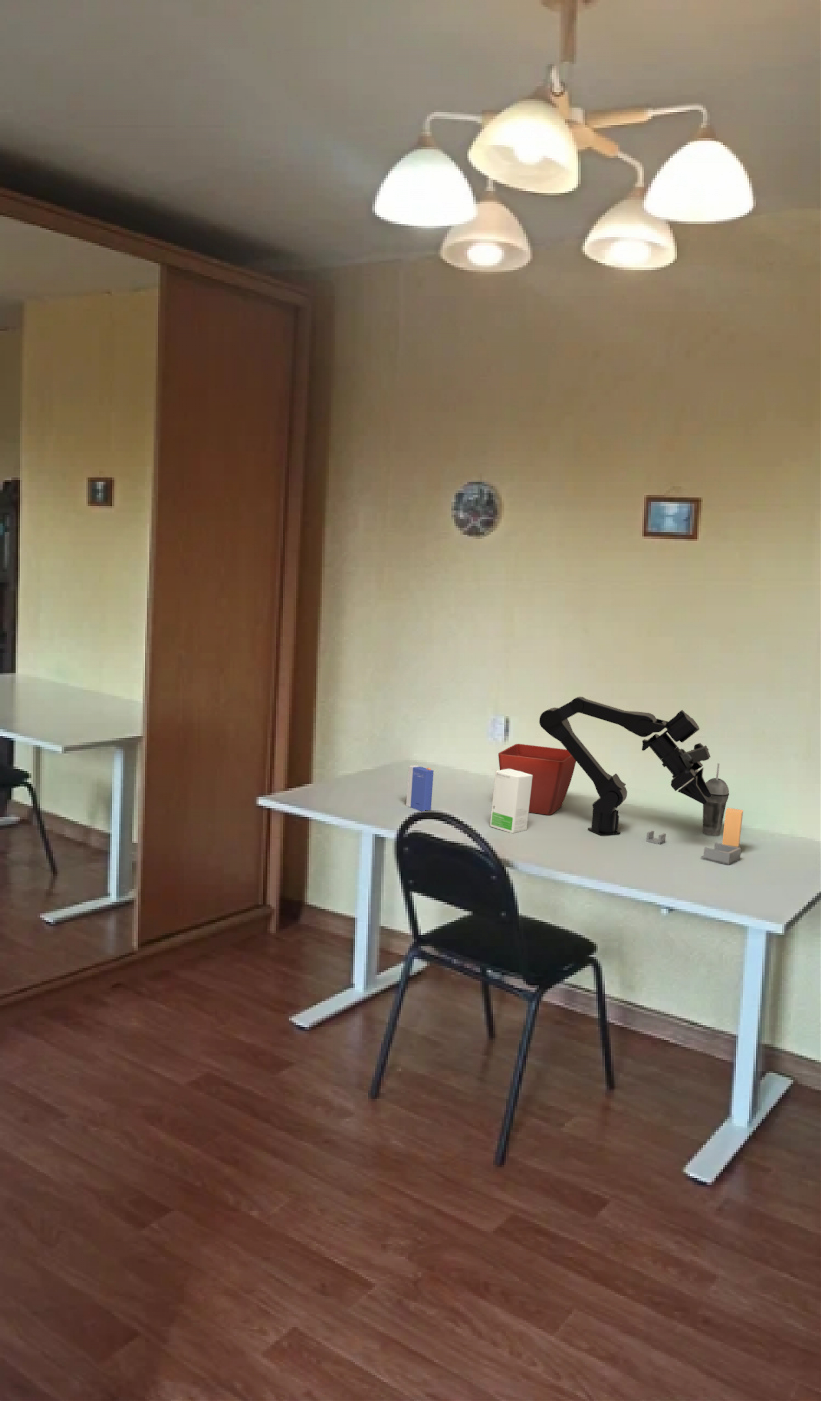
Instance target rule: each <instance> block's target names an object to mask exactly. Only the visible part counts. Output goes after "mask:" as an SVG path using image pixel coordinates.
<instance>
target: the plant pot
mask: <svg viewBox="0 0 821 1401" xmlns="http://www.w3.org/2000/svg"><path fill="white" fill-rule="evenodd" d="M497 756H498V764H499V766H498V767H499V770H504V769H513V770H517V771H521V772H524V773H527V774H531V775H533V777H532V785H531V794H530V803H529V812H528V813H531V814H532V813H533V814H540V815H548V816H550V815H552V814H554V813H555V812H557V811H558V810H559V809H560V808H562V806H563V803H564V801H565V799H566V796H567V794H568V790H569V788H570V784H571V781H572V778H573V775H574V771H575V767H576V764H577V761H576V760H575V759H574V758H573V757H572V755H571V754H570V753H569V752H568V750H567V749H566V748H565V749H564V748H557V747H550V746H549V747H548V746H541V745H540V746H539V745H532V744H524V743H516V744H513V745H512V746H509V747H507V748H506V749H504V750H502V751H500V752H498V755H497Z"/></svg>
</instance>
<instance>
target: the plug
mask: <svg viewBox="0 0 821 1401" xmlns="http://www.w3.org/2000/svg"><path fill="white" fill-rule="evenodd" d="M743 815H744V810H743V809H738V808H731V807H727V808H726V809H725V812H724V824H723V825H724V826H723V834H722V843H721V844H724V845H729V846H733V847H738V848H741V847H740V845H741V833H742V824H743Z"/></svg>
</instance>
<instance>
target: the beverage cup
mask: <svg viewBox="0 0 821 1401" xmlns="http://www.w3.org/2000/svg"><path fill="white" fill-rule="evenodd" d="M719 772H720V763H717V766H716V775H715V777H713V778H710V779H708V780H707V781H705V783H706V785H707V787H708V789H709V791H710V793H711V796H710V797H709V798H708V797H706V796H705V795H704V797H705V799H706V800H707V803H706V804H702V833H703V834H704V835H707V836H714V837H716V836H720V834H721V830H722V826H723V822H724V821H723V820H724V818H725V813H726V806H727V802H728V799H729V796H730V789H729V787H728V784H727V783H726V781H724V780H723V779H721V778H719Z"/></svg>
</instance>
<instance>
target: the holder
mask: <svg viewBox="0 0 821 1401" xmlns="http://www.w3.org/2000/svg"><path fill="white" fill-rule="evenodd" d="M741 850H742V848H741V847H739V848H738V847H733V846H729V845H724V844H722V843H721V842H720V843H719V842H714V848H710V847H704V848H703V855H702V856H701V855H700V859H701V860H705V861H709V862H713V863H718V864H722V865H725V866H730V865H732V864H734V863H737V862H738V861H740V860H741V853H742V852H741Z"/></svg>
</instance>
